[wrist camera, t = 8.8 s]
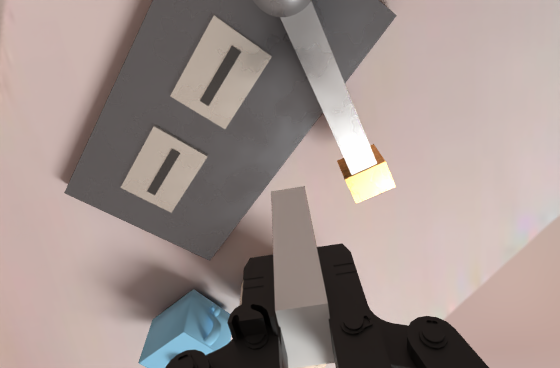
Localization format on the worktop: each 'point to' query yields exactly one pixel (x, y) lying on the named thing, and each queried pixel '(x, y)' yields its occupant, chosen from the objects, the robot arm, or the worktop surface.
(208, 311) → the teapot
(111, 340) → the worktop surface
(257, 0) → the grey bar
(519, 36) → the worktop surface
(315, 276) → the robot arm
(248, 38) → the plate
